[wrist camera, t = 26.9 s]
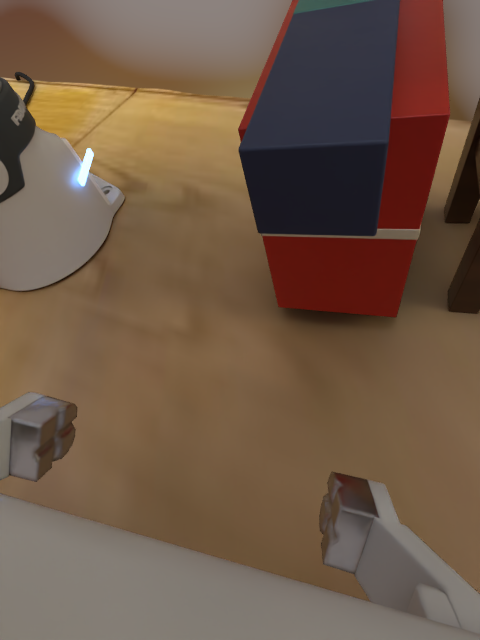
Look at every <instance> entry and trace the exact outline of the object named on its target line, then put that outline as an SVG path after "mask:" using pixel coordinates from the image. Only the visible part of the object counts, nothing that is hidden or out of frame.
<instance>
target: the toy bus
mask: <svg viewBox="0 0 480 640" xmlns="http://www.w3.org/2000/svg"><path fill="white" fill-rule="evenodd" d="M297 3H298V0H292V3H291V5H290V8H289V10H288V12H287V15H286V17H285V19H284V22H283V24H282V27H281V29H280V31H279V34H278V36H277V39H276V41H275V43H274V45H273V48H272V50H271V53H270V55H269V58H268V60H267V62H266V65H265V67H264V69H263V71H262V74H261V76H260V79H259V81H258V83H257V86H256V88H255V91H254V93H253V95H252V98H251V100H250V102H249V105H248V107H247V109H246V112H245V114H244V116H243V119H242V121H241V124H240V126H239V128H238V131H239V135H240V140H241V142H242V139H243V137H244V134H245V132H246V129H247V127H248V124H249V122H250V119H251V117H252V114H253V112H254V110H255V107H256V105H257V102H258V100H259V97H260V95H261V92H262V90H263V87H264V85H265V82H266V80H267V78H268V75H269V73H270V70H271V68H272V65H273V63H274V60H275V58H276V55H277V53H278V50H279V48H280V46H281V43H282V41H283V38H284V36H285V33H286V31H287V28H288V26H289V23H290V21H291V18H292V16H293V13H294V10H295V8H296V5H297ZM449 116H450V106H449V91H448V75H447V60H446V44H445V28H444V13H443V0H400V8H399V20H398V33H397V46H396V58H395V71H394V84H393V96H392V109H391V122H390V134H389V145H388V153H387V160H386V168H385V175H384V183H383V190H382V198H381V205H380V212H379V220H378V227H377V233H376V235H375V236H335V235H295V234H261V236H262V237H263V241H264V245H265V250H266V254H267V259H268V263H269V267H270V272H271V276H272V281H273V285H274V290H275V294H276V298H277V303H278V307H284V308H295V309H307V310H318V311H329V312H341V313H352V314H363V315H375V316H386V317H396V316H397V313H398V309H399V306H400V302H401V298H402V294H403V290H404V286H405V282H406V279H407V275H408V271H409V267H410V264H411V260H412V256H413V252H414V249H415V245H416V241H417V240H418V238H419V234H420V231H421V222H422V218H423V215H424V211H425V207H426V203H427V200H428V196H429V192H430V188H431V184H432V181H433V177H434V173H435V169H436V166H437V162H438V158H439V154H440V150H441V147H442V143H443V139H444V135H445V132H446V128H447V124H448V120H449Z"/></svg>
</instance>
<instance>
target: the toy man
mask: <svg viewBox="0 0 480 640" xmlns="http://www.w3.org/2000/svg"><path fill="white" fill-rule="evenodd" d="M399 8H400V0H298V3H297V5H296V8H295V10H294V13H293V16H292V18H291V21H290V23H289V26H288V28H287V31H286V33H285V36H284V38H283V41H282V43H281V46H280V48H279V50H278V53H277V55H276V58H275V60H274V63H273V65H272V68H271V70H270V73H269V75H268V78H267V80H266V82H265V85H264V87H263V90H262V92H261V95H260V97H259V100H258V102H257V105H256V107H255V110H254V112H253V114H252V117H251V119H250V122H249V124H248V127H247V129H246V132H245V134H244V137H243V139H242V142H241V144H240V147H239V154H240V159H241V163H242V167H243V171H244V175H245V180H246V184H247V188H248V192H249V196H250V201H251V205H252V209H253V213H254V217H255V222H256V226H257V230H258V233H260V234H295V235H335V236H375V235H376V233H377V227H378V220H379V212H380V205H381V198H382V190H383V183H384V175H385V168H386V160H387V153H388V145H389V134H390V122H391V109H392V96H393V84H394V71H395V58H396V46H397V33H398V20H399Z"/></svg>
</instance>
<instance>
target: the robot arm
mask: <svg viewBox="0 0 480 640" xmlns="http://www.w3.org/2000/svg"><path fill="white" fill-rule="evenodd" d="M19 76H21V77H23V78H25V79H26V80H27V81H29V83H30V86H29V89H28V91H27V93H26V95H25V98H24V100H22V99H21V98H20V96H19V95H18V94H17V93H16V92H15V91H14V90H13V89H12V87H11V86H10V85H9V83H8V82H7V81H6V80H5V79H3V78H1V77H0V288H4V289H8V290H14V291H27V290H33V289H38V288H41V287H44V286H47V285H50V284H52V283H55V282H57V281H59V280H61V279H63V278H64V277H66V276H68V275H70V274H71V273H73V272H74V271H76V270H77V269H78V268H80V267H81V266H82V265H83V264H85V263H86V262H87V261H88V260H89V259H90V258H91V257H92V256H93V255H94V254H95V253H96V252H97V250H98V249H99V248H100V246H101V245H102V244H103V242H104V240H105V239H106V237H107V235H108V233H109V230H110V227H111V223H112V219H113V216H114V214H115V213H116V211H117V210H118V209H119V207H120V206H121V205H122V203H123V201H124V199H125V196H124V195H123V193H122V192H121V191H120V189H119V188H117V187H115V186H114V185H112V184H110V183H108V182H106V181H105V180H103V179H101V178H99V177H98V176H96V175H94V174H92V173H90V172H89V169H90V165H91V162H92V158H93V155H94V154H93V152H92V151H91V149H90V148H89V149H87V151H86V155H85V158H84V161H83V162H82V161H81V159H80V158H79V156H78V155H77V153H76V152H75V151H74V149H73V148H72V146H71V145H70V143H69V142H68V141H67V140H66V139H65V138H60V137H59V136H57V135H56V134H53V133H48V132H46V131H43V130H42V129H40V128H39V127H37V126H36V123H35V120H34V118H33V117H32V115H31V114H30V112H29V111H28V109H27V108H26V104H27V103H28V101H29V99H30V96H31V94H32V92H33V90H34V82H33V81H32V79H31V78H29V77H28V76H27V75H25V74H23V73H21V72H16V73H15V77H16V79H17V80H21V79H20V77H19ZM76 417H77V406H76V405H75V404H74V403H70V402H67V401H63V400H60V399H56V398H53V397H49V396H46V395H43V394H38V393H34V392H28V393H26V394H24V395H22V396H21V397H19V398H17V399H15V400H14V401H12V402H10V403H8V404H6V405H5V406H3V407H1V408H0V480H2V479H4V478H6V477H8V476H9V475H11V476H15V477H19V478H23V479H27V480H31V481H35V482H37V481H38V480H39V479H40V478H41V477H42V476H44V475H45V474H46V473H47V472H48V471H49V470H50V469H51V468H52V462H53V461H56V460H59V459H62V458H63V457H64V456H65V455H66V454H67V453H68V451H69V449H70V448H71V446H72V444H73V441H74V438H75V430H76V429H75V427H74V425H73V424H72V421H73V420H74V419H75V418H76ZM327 485H328V493H327V494H326V495H324V496H323V500H322V503H321V508H320V515H319V528H320V532H321V533H322V534H323V538H322V542H321V549H322V559H323V564H324V565H327V566H330V567H333V568H337V569H340V570H343V571H346V572H349V573H352V574H355V577H356V579H357V581H358V582H359V584H360V585H361V587H362V588H363V590H364V592H365V593H366V595H367V596H368V598H369V599H370V601H371V602H369V601H365V600H362V599H358V598H355V597H352V596H348V595H345V594H341V593H338V592H335V591H331V590H328V589H324V588H321V587H318V586H314V585H311V584H307V583H304V582H301V581H297V580H294V579H290V578H287V577H284V576H280V575H277V574H273V573H270V572H266V571H263V570H260V569H256V568H253V567H249V566H246V565H243V564H239V563H236V562H232V561H229V560H225V559H222V558H219V557H215V556H212V555H208V554H205V553H202V552H198V551H195V550H191V549H188V548H185V547H181V546H178V545H174V544H171V543H168V542H164V541H161V540H157V539H154V538H150V537H147V536H144V535H140V534H137V533H133V532H130V531H127V530H123V529H120V528H116V527H113V526H110V525H106V524H103V523H99V522H96V521H93V520H89V519H86V518H82V517H79V516H76V515H72V514H69V513H65V512H62V511H58V510H55V509H52V508H48V507H45V506H41V505H38V504H35V503H31V502H28V501H24V500H21V499H18V498H14V497H11V496H7V495H4V494H1V493H0V640H480V594H479V593H478V592H477V591H476V590H475V589H473V588H472V587H471V586H470V585H469V584H468V583H467V582H466V581H465V580H464V579H463V578H462V577H461V576H460V575H458V574H457V573H456V572H455V571H454V570H453V569H452V568H451V567H450V566H449V565H448V564H447V563H446V562H444V561H443V560H442V559H441V558H440V557H439V556H438V555H437V554H436V553H435V552H434V551H433V550H432V549H431V548H429V547H428V546H427V545H426V544H425V543H424V542H423V541H422V540H421V539H420V538H419V537H418V536H417V535H416V534H414V533H413V532H412V531H411V530H410V529H409V528H408V527H407V526H406V525H402V524H400V521H399V519H398V516H397V514H396V511H395V509H394V506H393V504H392V501H391V499H390V496H389V493H388V491H387V488H386V486H385V485H384V484H383V483H380V482H376V481H371V480H367V479H362V478H358V477H353V476H349V475H345V474H341V473H336V472H331V474H330V476H329V479H328V482H327Z"/></svg>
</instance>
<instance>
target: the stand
mask: <svg viewBox="0 0 480 640" xmlns="http://www.w3.org/2000/svg"><path fill="white" fill-rule="evenodd" d="M479 199H480V98H479V102H478V105H477V108H476V111H475V114H474V118H473V120H472V123H471V126H470V130H469V133H468V136H467V139H466V142H465V145H464V148H463V151H462V155H461V158H460V161H459V164H458V167H457V170H456V173H455V176H454V179H453V183H452V186H451V189H450V192H449V195H448V198H447V201H446V204H445V208H444V210H445V222H446V223H470V221H471V218H472V216H473V213H474V211H475V208H476V206H477V204H478V201H479ZM448 307H449V311H451V312H464V313H476V314H477V313H478V312H479V310H480V219H479V221H478V223H477V226H476V228H475V230H474V233H473V235H472V237H471V240H470V242H469V244H468V246H467V249H466V251H465V253H464V256H463V258H462V260H461V262H460V265H459V267H458V269H457V272H456V274H455V276H454V278H453V281H452V283H451V285H450V288H449V290H448Z"/></svg>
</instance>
